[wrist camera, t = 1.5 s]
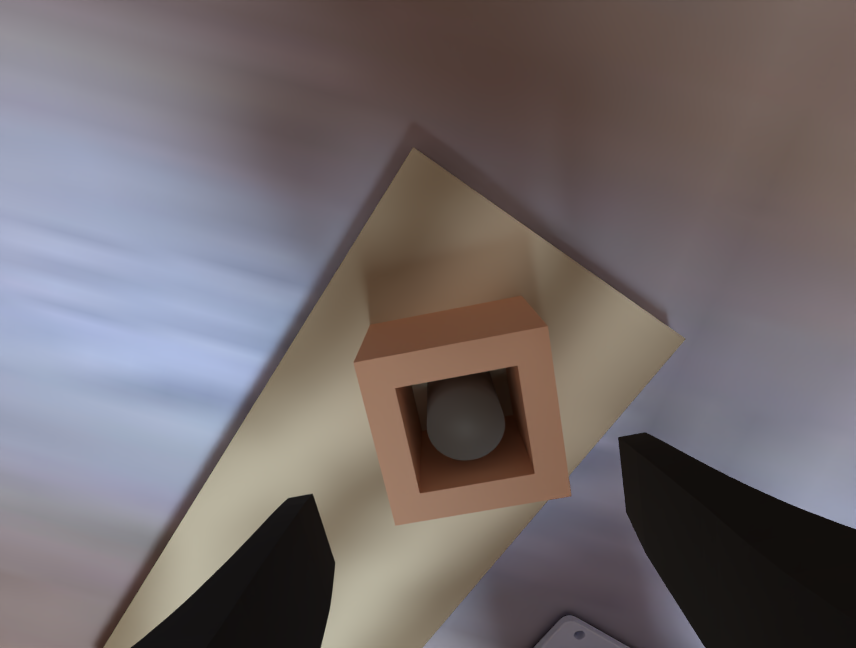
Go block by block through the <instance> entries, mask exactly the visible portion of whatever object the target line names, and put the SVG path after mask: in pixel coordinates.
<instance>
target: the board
mask: <svg viewBox="0 0 856 648" xmlns="http://www.w3.org/2000/svg"><path fill="white" fill-rule="evenodd" d="M517 296H522V297H523V298H524V299H525V300H526V301H527V302H528V303H529V305H530V306H531V307H532V308H533V309H534V310H535V312H536V313H537V314H538V315H539V316H540V317H541V319H542V320H543V321H544V322H545V323H546V324H547V326H548V330H549V338H550V345H551V352H552V359H553V366H554V374H555V381H556V388H557V395H558V403H559V410H560V417H561V424H562V432H563V439H564V446H565V453H566V461H567V468H568V475H570V474H571V473H572V472H573V470H574V469H575V468H576V467H577V466H578V465H579V463H580V462H581V461H582V460H583V459H584V458H585V456H586V455H587V454H588V453H589V452H590V451H591V449H592V448H593V447H594V446H595V445H596V444H597V442H598V441H599V440H600V439H601V438H602V436H603V435H604V434H605V433H606V432H607V431H608V429H609V428H610V427H611V426H612V425H613V424H614V422H615V421H616V420H617V419H618V418H619V417H620V415H621V414H622V413H623V412H624V411H625V409H626V408H627V407H628V406H629V405H630V404H631V402H632V401H633V400H634V399H635V398H636V397H637V395H638V394H639V393H640V392H641V391H642V390H643V388H644V387H645V386H646V385H647V384H648V383H649V381H650V380H651V379H652V378H653V377H654V375H655V374H656V373H657V372H658V371H659V370H660V368H661V367H662V366H663V365H664V364H665V363H666V361H667V360H668V359H669V358H670V357H671V356H672V354H673V353H674V352H675V351H676V350H677V349H678V347H679V346H680V345H681V344H682V343H683V341H684V340H685V338H684V337H682V336H681V335H679V334H678V333H676V332H675V331H674V330H672V329H671V328H669V327H668V326H667V325H665V324H664V323H662V322H661V321H659V320H658V319H657V318H655V317H654V316H652V315H651V314H649V313H648V312H647V311H645V310H644V309H642V308H641V307H640V306H638V305H637V304H635V303H634V302H632V301H631V300H630V299H628V298H627V297H625V296H624V295H622V294H621V293H620V292H618V291H617V290H615V289H614V288H613V287H611V286H610V285H608V284H607V283H605V282H604V281H603V280H601V279H600V278H598V277H597V276H595V275H594V274H593V273H591V272H590V271H588V270H587V269H586V268H584V267H583V266H581V265H580V264H578V263H577V262H576V261H574V260H573V259H571V258H570V257H568V256H567V255H566V254H564V253H563V252H561V251H560V250H559V249H557V248H556V247H554V246H553V245H551V244H550V243H549V242H547V241H546V240H544V239H543V238H541V237H540V236H539V235H537V234H536V233H534V232H533V231H532V230H530V229H529V228H527V227H526V226H524V225H523V224H522V223H520V222H519V221H517V220H516V219H514V218H513V217H512V216H510V215H509V214H507V213H506V212H505V211H503V210H502V209H500V208H499V207H497V206H496V205H495V204H493V203H492V202H490V201H489V200H487V199H486V198H485V197H483V196H482V195H480V194H479V193H478V192H476V191H475V190H473V189H472V188H470V187H469V186H468V185H466V184H465V183H463V182H462V181H460V180H459V179H458V178H456V177H455V176H453V175H452V174H451V173H449V172H448V171H446V170H445V169H443V168H442V167H441V166H439V165H438V164H436V163H435V162H433V161H432V160H431V159H429V158H428V157H426V156H425V155H424V154H422V153H421V152H419V151H418V150H416V149H415V148H414V147H413V148H412V150H411V152H410V153H409V155H408V156H407V158H406V160H405V161H404V163H403V164H402V166H401V168H400V169H399V171H398V173H397V174H396V176H395V177H394V179H393V181H392V182H391V184H390V185H389V187H388V189H387V190H386V192H385V194H384V195H383V197H382V198H381V200H380V202H379V203H378V205H377V206H376V208H375V210H374V211H373V213H372V215H371V216H370V218H369V219H368V221H367V223H366V224H365V226H364V227H363V229H362V231H361V232H360V234H359V236H358V237H357V239H356V240H355V242H354V244H353V245H352V247H351V248H350V250H349V252H348V253H347V255H346V257H345V258H344V260H343V261H342V263H341V265H340V266H339V268H338V269H337V271H336V273H335V274H334V276H333V278H332V279H331V281H330V282H329V284H328V286H327V287H326V289H325V290H324V292H323V294H322V295H321V297H320V299H319V300H318V302H317V303H316V305H315V307H314V308H313V310H312V311H311V313H310V315H309V316H308V318H307V320H306V321H305V323H304V324H303V326H302V328H301V329H300V331H299V332H298V334H297V336H296V337H295V339H294V340H293V342H292V344H291V345H290V347H289V349H288V350H287V352H286V353H285V355H284V357H283V358H282V360H281V361H280V363H279V365H278V366H277V368H276V370H275V371H274V373H273V374H272V376H271V378H270V379H269V381H268V382H267V384H266V386H265V387H264V389H263V391H262V392H261V394H260V395H259V397H258V399H257V400H256V402H255V403H254V405H253V407H252V408H251V410H250V412H249V413H248V415H247V416H246V418H245V420H244V421H243V423H242V424H241V426H240V428H239V429H238V431H237V433H236V434H235V436H234V437H233V439H232V441H231V442H230V444H229V445H228V447H227V449H226V450H225V452H224V454H223V455H222V457H221V458H220V460H219V462H218V463H217V465H216V466H215V468H214V470H213V471H212V473H211V475H210V476H209V478H208V479H207V481H206V483H205V484H204V486H203V487H202V489H201V491H200V492H199V494H198V496H197V497H196V499H195V500H194V502H193V504H192V505H191V507H190V508H189V510H188V512H187V513H186V515H185V517H184V518H183V520H182V521H181V523H180V525H179V526H178V528H177V529H176V531H175V533H174V534H173V536H172V538H171V539H170V541H169V542H168V544H167V546H166V547H165V549H164V550H163V552H162V554H161V555H160V557H159V559H158V560H157V562H156V563H155V565H154V567H153V568H152V570H151V571H150V573H149V575H148V576H147V578H146V580H145V581H144V583H143V584H142V586H141V588H140V589H139V591H138V592H137V594H136V596H135V597H134V599H133V601H132V602H131V604H130V605H129V607H128V609H127V610H126V612H125V613H124V615H123V617H122V618H121V620H120V621H119V623H118V625H117V626H116V628H115V630H114V631H113V633H112V634H111V636H110V638H109V639H108V641H107V642H106V644H105V646H104V647H103V648H131V647H132V646H133V645H135V644H136V643H137V642H138V641H140V640H141V639H142V638H143V637H144V636H146V635H147V634H148V633H149V632H150V631H152V630H153V629H154V628H155V627H156V626H158V625H159V624H160V623H161V622H162V621H163V620H165V619H166V618H167V617H168V616H169V615H170V614H172V613H173V612H174V611H175V610H176V609H177V608H178V607H179V606H181V605H182V604H183V603H184V602H185V601H186V600H187V599H188V598H189V597H190V596H191V595H192V594H193V593H195V592H196V591H197V590H198V589H199V588H200V587H201V586H202V585H203V584H204V583H205V582H206V581H207V580H208V579H209V578H210V577H211V576H212V575H213V574H214V573H215V572H216V571H217V570H218V569H219V568H220V567H221V566H222V565H223V564H224V563H225V562H226V561H227V560H228V559H229V558H230V557H231V556H232V555H233V554H234V553H235V552H236V551H237V550H238V549H239V548H240V547H241V546H242V545H243V544H244V543H245V542H246V541H247V540H248V538H249V537H250V536H251V535H252V534H253V533H254V532H255V531H256V530H257V529H258V528H259V527H260V526H261V525H262V524H263V523H264V522H265V521H266V519H267V518H268V517H269V516H270V515H271V514H272V513H273V512H274V511H275V510H276V509H277V508H278V507H279V506H280V505H281V504H282V503H283V502H284V501H285V500H287V499H288V498H291V497H297V496H302V495H307V494H313V496H314V499H315V502H316V505H317V508H318V511H319V514H320V517H321V520H322V523H323V526H324V529H325V532H326V536H327V539H328V542H329V545H330V548H331V551H332V554H333V557H334V560H335V572H334V582H333V591H332V599H331V606H330V611H329V616H328V620H327V624H326V628H325V633H324V637H323V641H322V645H321V648H423V646H424V645H425V644H426V643H427V642H428V641H429V639H430V638H431V637H432V636H433V635H434V633H435V632H436V631H437V630H438V629H439V628H440V626H441V625H442V624H443V623H444V622H445V621H446V619H447V618H448V617H449V616H450V615H451V614H452V612H453V611H454V610H455V609H456V608H457V607H458V605H459V604H460V603H461V602H462V601H463V599H464V598H465V597H466V596H467V595H468V594H469V592H470V591H471V590H472V589H473V588H474V587H475V585H476V584H477V583H478V582H479V581H480V580H481V578H482V577H483V576H484V575H485V574H486V573H487V571H488V570H489V569H490V568H491V567H492V565H493V564H494V563H495V562H496V561H497V560H498V558H499V557H500V556H501V555H502V554H503V553H504V551H505V550H506V549H507V548H508V547H509V546H510V544H511V543H512V542H513V541H514V540H515V538H516V537H517V536H518V535H519V534H520V533H521V531H522V530H523V529H524V528H525V527H526V526H527V524H528V523H529V522H530V521H531V520H532V519H533V517H534V516H535V515H536V514H537V513H538V512H539V510H540V509H541V508H542V507H543V506H544V504H545V503H546V502H547V501H548V500H546V501H540V502H534V503H528V504H522V505H516V506H510V507H504V508H498V509H492V510H486V511H480V512H474V513H468V514H462V515H456V516H450V517H444V518H438V519H432V520H426V521H420V522H414V523H409V524H403V525H397V526H395V523H394V519H393V515H392V511H391V507H390V503H389V499H388V496H387V492H386V488H385V484H384V480H383V476H382V472H381V468H380V464H379V461H378V457H377V453H376V449H375V445H374V441H373V437H372V433H371V429H370V426H369V422H368V418H367V414H366V410H365V406H364V402H363V398H362V395H361V391H360V387H359V383H358V379H357V375H356V371H355V367H354V363H353V362H354V360H355V358H356V356H357V353H358V351H359V349H360V347H361V344H362V342H363V340H364V337H365V335H366V333H367V331H368V328H369V326H370V325H371V324H377V323H382V322H387V321H392V320H397V319H403V318H408V317H413V316H418V315H423V314H428V313H434V312H439V311H444V310H449V309H454V308H460V307H465V306H470V305H475V304H480V303H486V302H491V301H496V300H501V299H506V298H511V297H517ZM412 389H413V394H414V398H415V403H416V407H417V411H418V416H419V420H420V425H421V429H422V431H425V430H427V433H428V436H429V439H430V441H431V443H432V444H433V446H434V447H435V448H436V449H437V450H438V451H439V452H441V453H442V454H443V455H445V456H447V457H450V458H452V459H456V460H474V459H478V458H481V457H483V456H485V455H487V454H488V453H490V452H491V451H492V450H494V449H495V448H496V447H497V445H498V444H499V443H500V441H501V439H502V437H503V434H504V430H505V419H504V416H509V415H513V410H512V404H511V398H510V392H509V387H508V381H507V375H506V369H505V368H502V369H496V370H491V371H486V372H480V373H475V374H469V375H464V376H458V377H453V378H448V379H442V380H437V381H431V382H426V383H421V384H415V385H412Z"/></svg>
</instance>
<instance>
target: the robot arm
mask: <svg viewBox="0 0 856 648" xmlns="http://www.w3.org/2000/svg"><path fill="white" fill-rule="evenodd" d="M618 440H619V449H620V459H621V468H622V477H623V487H624V496H625V505H626V513H627V515H628V517H629V519H630V521H631V523H632V526H633V528H634V530H635V532H636V534H637V536H638V538H639V540H640V542H641V544H642V546H643V549H644V551H645V553H646V554H647V556H648V558H649V559H650V561H651V563H652V564H653V566H654V567H655V569H656V571H657V572H658V574H659V575H660V577H661V579H662V580H663V582H664V583H665V585H666V587H667V588H668V590H669V591H670V593H671V594H672V596H673V598H674V599H675V601H676V602H677V604H678V605H679V607H680V609H681V610H682V612H683V613H684V615H685V616H686V618H687V620H688V621H689V623H690V624H691V626H692V627H693V629H694V631H695V632H696V634H697V635H698V637H699V639H700V640H701V642H702V643H703V645H704V646H705V648H856V529H854V528H851V527H848V526H845V525H842V524H839V523H837V522H834V521H832V520H829V519H826V518H824V517H821V516H818V515H816V514H813V513H811V512H808V511H805V510H803V509H800V508H798V507H795V506H793V505H791V504H788V503H786V502H783V501H781V500H779V499H777V498H774V497H772V496H770V495H768V494H765V493H763V492H761V491H759V490H757V489H754V488H752V487H750V486H748V485H746V484H744V483H742V482H740V481H738V480H735V479H733V478H731V477H729V476H727V475H725V474H723V473H721V472H719V471H717V470H716V469H714V468H712V467H710V466H708V465H706V464H704V463H702V462H700V461H698V460H696V459H694V458H693V457H691V456H689V455H687V454H685V453H683V452H682V451H680V450H678V449H676V448H674V447H672V446H670V445H669V444H667V443H665V442H663V441H661V440H659V439H657V438H656V437H654V436H652V435H650V434H647V433H639V434H634V435H628V436H623V437H618ZM334 572H335V560H334V557H333V554H332V551H331V548H330V545H329V542H328V539H327V536H326V532H325V529H324V526H323V523H322V520H321V517H320V514H319V511H318V508H317V505H316V502H315V499H314V496H313V494H307V495H302V496H297V497H291V498H288V499H287V500H285V501H284V502H283V503H282V504H281V505H280V506H279V507H278V508H277V509H276V510H275V511H274V512H273V513H272V514H271V515H270V516H269V517H268V518H267V519H266V521H265V522H264V523H263V524H262V525H261V526H260V527H259V528H258V529H257V530H256V531H255V532H254V533H253V534H252V535H251V536H250V537H249V538H248V540H247V541H246V542H245V543H244V544H243V545H242V546H241V547H240V548H239V549H238V550H237V551H236V552H235V553H234V554H233V555H232V556H231V557H230V558H229V559H228V560H227V561H226V562H225V563H224V564H223V565H222V566H221V567H220V568H219V569H218V570H217V571H216V572H215V573H214V574H213V575H212V576H211V577H210V578H209V579H208V580H207V581H206V582H205V583H204V584H203V585H202V586H201V587H200V588H199V589H198V590H197V591H196V592H195V593H193V594H192V595H191V596H190V597H189V598H188V599H187V600H186V601H185V602H184V603H183V604H182V605H181V606H179V607H178V608H177V609H176V610H175V611H174V612H173V613H172V614H170V615H169V616H168V617H167V618H166V619H165V620H163V621H162V622H161V623H160V624H159V625H158V626H156V627H155V628H154V629H153V630H152V631H150V632H149V633H148V634H147V635H146V636H144V637H143V638H142V639H141V640H140V641H138V642H137V643H136V644H135V645H133V646H132V647H131V648H321V645H322V641H323V637H324V633H325V628H326V624H327V620H328V616H329V611H330V606H331V599H332V591H333V582H334ZM577 631H579V632H577ZM534 648H630V647H628V646H626V645H624V644H623V643H621V642H619V641H617V640H615V639H614V638H612V637H610V636H608V635H607V634H605V633H603V632H601V631H600V630H598V629H596V628H594V627H593V626H591V625H589V624H587V623H585V622H584V621H582V620H580V619H578V618H577V617H574V616H572V615H567V616H564V617H562V618H561V619H560V620H559V621H558V622H557V623H556V624H555V625H554V626H553V627H552V628H551V630H550V631H549V632H548V633H547V634H546V635H545V636H544V637H543V638H542V639H541V640H540V641H539V642H538V643H537V645H536V646H535V647H534Z"/></svg>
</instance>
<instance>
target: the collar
mask: <svg viewBox="0 0 856 648" xmlns="http://www.w3.org/2000/svg"><path fill="white" fill-rule="evenodd" d="M353 363H354V367H355V371H356V375H357V379H358V383H359V387H360V391H361V395H362V398H363V402H364V406H365V410H366V414H367V418H368V422H369V426H370V429H371V433H372V437H373V441H374V445H375V449H376V453H377V457H378V461H379V464H380V468H381V472H382V476H383V480H384V484H385V488H386V492H387V496H388V499H389V503H390V507H391V511H392V515H393V519H394V523H395V526H397V525H403V524H409V523H414V522H420V521H426V520H432V519H438V518H444V517H450V516H456V515H462V514H468V513H474V512H480V511H486V510H492V509H498V508H504V507H510V506H516V505H522V504H528V503H534V502H540V501H546V500H551V499H557V498H563V497H569V496H571V490H570V482H569V475H568V468H567V461H566V453H565V446H564V439H563V432H562V424H561V417H560V410H559V403H558V395H557V388H556V381H555V374H554V366H553V359H552V352H551V345H550V338H549V330H548V326H547V324H546V323H545V322H544V321H543V320H542V319H541V317H540V316H539V315H538V314H537V313H536V312H535V310H534V309H533V308H532V307H531V306H530V305H529V303H528V302H527V301H526V300H525V299H524V298H523V297H522V296H517V297H511V298H506V299H501V300H496V301H491V302H486V303H480V304H475V305H470V306H465V307H460V308H454V309H449V310H444V311H439V312H434V313H428V314H423V315H418V316H413V317H408V318H403V319H397V320H392V321H387V322H382V323H377V324H371V325H370V326H369V328H368V331H367V333H366V335H365V337H364V340H363V342H362V344H361V347H360V349H359V351H358V353H357V356H356V358H355V360H354V362H353ZM502 368H505V369H506V375H507V381H508V387H509V392H510V398H511V404H512V410H513V415H509V416H504V419H505V430H504V434H503V437H502V439H501V441H500V443H499V444H498V445H497V447H496V448H495V449H494V450H492V451H491V452H490V453H488V454H487V455H485V456H483V457H481V458H478V459H474V460H456V459H452V458H450V457H447V456H445V455H443V454H442V453H441V452H439V451H438V450H437V449H436V448H435V447H434V446H433V444H432V443H431V441H430V439H429V436H428V433H427V430H425V431H422V429H421V425H420V420H419V416H418V411H417V407H416V403H415V398H414V394H413V389H412V385H415V384H421V383H426V382H431V381H437V380H442V379H448V378H453V377H458V376H464V375H469V374H475V373H480V372H486V371H491V370H496V369H502Z"/></svg>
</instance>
